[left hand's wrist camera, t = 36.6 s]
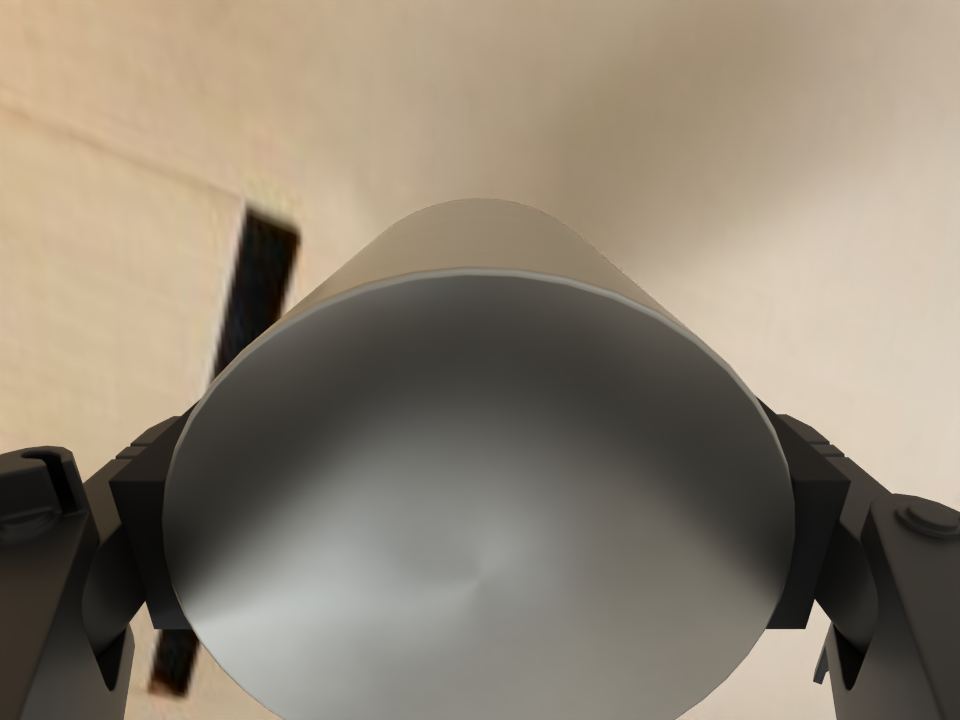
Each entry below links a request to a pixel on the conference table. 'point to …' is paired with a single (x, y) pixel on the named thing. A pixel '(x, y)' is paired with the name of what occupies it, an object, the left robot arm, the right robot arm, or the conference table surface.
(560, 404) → the can
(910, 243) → the conference table surface
